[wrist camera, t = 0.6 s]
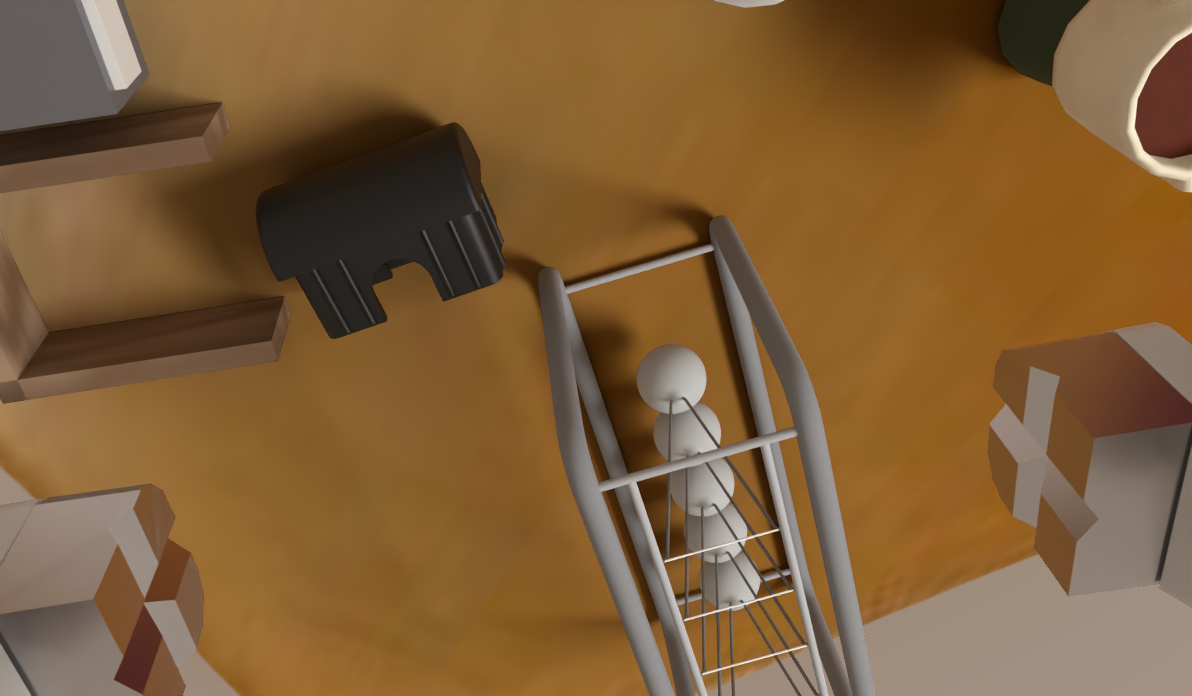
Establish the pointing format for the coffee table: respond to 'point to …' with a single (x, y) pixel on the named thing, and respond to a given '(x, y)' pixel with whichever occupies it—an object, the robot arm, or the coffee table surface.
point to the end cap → (383, 226)
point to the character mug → (1114, 72)
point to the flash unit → (66, 61)
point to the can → (750, 2)
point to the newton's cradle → (706, 483)
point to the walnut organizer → (136, 347)
